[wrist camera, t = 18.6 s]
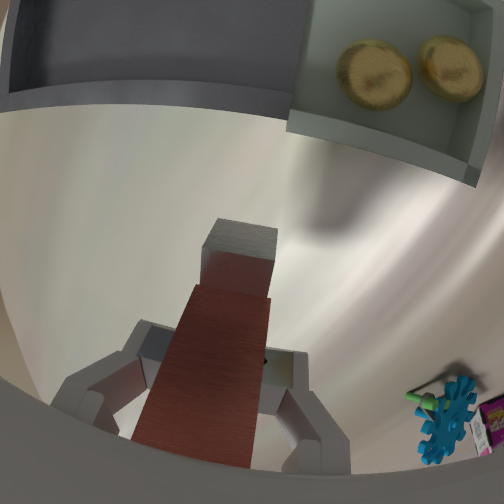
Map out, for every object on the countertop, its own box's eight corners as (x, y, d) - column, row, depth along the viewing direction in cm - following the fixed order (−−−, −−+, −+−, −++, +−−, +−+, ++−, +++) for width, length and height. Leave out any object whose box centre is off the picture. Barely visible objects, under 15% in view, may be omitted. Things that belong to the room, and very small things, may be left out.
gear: (487, 400, 23) (444, 476, 20) (450, 393, 29) (408, 460, 26) (465, 352, 21) (411, 448, 18) (420, 346, 27) (367, 428, 24)
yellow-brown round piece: (359, 12, 9) (325, 56, 9) (431, 51, 9) (409, 101, 9) (348, 56, 13) (319, 100, 13) (408, 89, 12) (384, 137, 12)
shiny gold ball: (423, 32, 11) (420, 16, 8) (483, 56, 9) (494, 47, 7) (411, 87, 13) (406, 85, 10) (470, 113, 11) (478, 116, 9)
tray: (317, -53, 9) (321, -76, 6) (479, 10, 9) (507, 3, 6) (286, 124, 15) (285, 131, 12) (450, 171, 14) (475, 188, 12)
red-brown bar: (214, 217, 12) (96, 454, 4) (281, 229, 12) (255, 497, 4) (206, 323, 15) (146, 508, 7) (259, 333, 15) (228, 527, 7)
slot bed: (45, -20, 10) (17, -25, 7) (316, -46, 9) (320, -70, 7) (28, 105, 15) (-2, 113, 12) (288, 115, 14) (288, 120, 12)
